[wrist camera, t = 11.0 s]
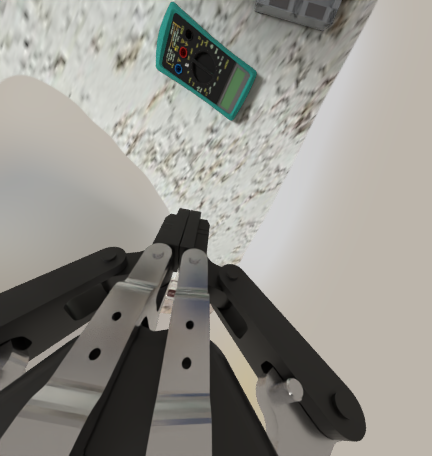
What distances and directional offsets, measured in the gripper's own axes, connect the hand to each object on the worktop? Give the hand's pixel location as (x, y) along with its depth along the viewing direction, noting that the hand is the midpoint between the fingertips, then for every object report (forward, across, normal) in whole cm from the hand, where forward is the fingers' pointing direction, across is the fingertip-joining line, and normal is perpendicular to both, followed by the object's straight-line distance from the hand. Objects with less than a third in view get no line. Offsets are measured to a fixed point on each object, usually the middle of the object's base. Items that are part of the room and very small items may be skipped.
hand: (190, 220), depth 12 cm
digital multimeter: (+28, -2, +10) cm, 30 cm away
